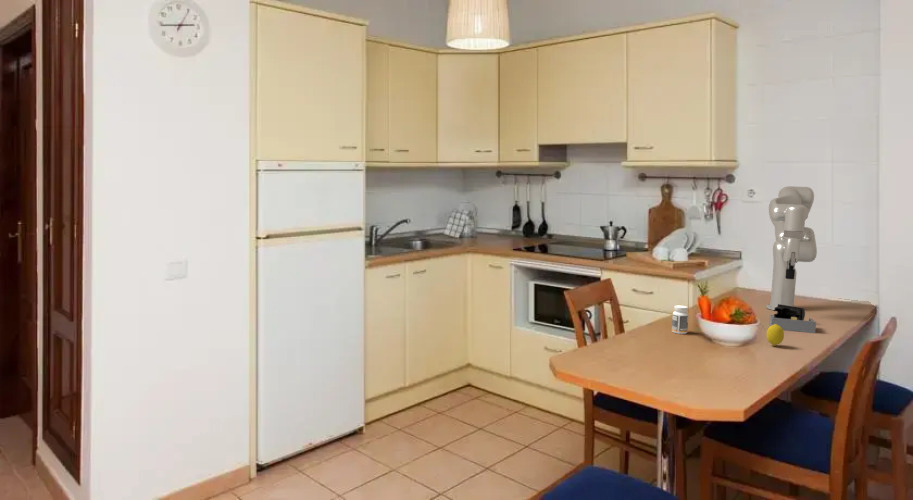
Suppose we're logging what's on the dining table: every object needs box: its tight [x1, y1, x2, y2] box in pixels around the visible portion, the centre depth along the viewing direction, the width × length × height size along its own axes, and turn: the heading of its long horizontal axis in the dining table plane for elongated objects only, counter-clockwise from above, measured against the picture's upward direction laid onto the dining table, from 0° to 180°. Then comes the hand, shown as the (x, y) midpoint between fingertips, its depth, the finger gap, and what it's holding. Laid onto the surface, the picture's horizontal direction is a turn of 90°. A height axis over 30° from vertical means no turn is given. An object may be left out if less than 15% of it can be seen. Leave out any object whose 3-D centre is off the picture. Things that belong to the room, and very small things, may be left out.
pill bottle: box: [671, 304, 689, 335], centre depth 256 cm, size 6×6×10 cm
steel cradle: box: [769, 314, 817, 334], centre depth 269 cm, size 10×15×5 cm, turn 70°
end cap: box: [773, 304, 806, 321], centre depth 280 cm, size 10×7×7 cm
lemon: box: [765, 324, 785, 347], centre depth 239 cm, size 6×6×8 cm
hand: (789, 278), depth 286 cm, fingers closed
